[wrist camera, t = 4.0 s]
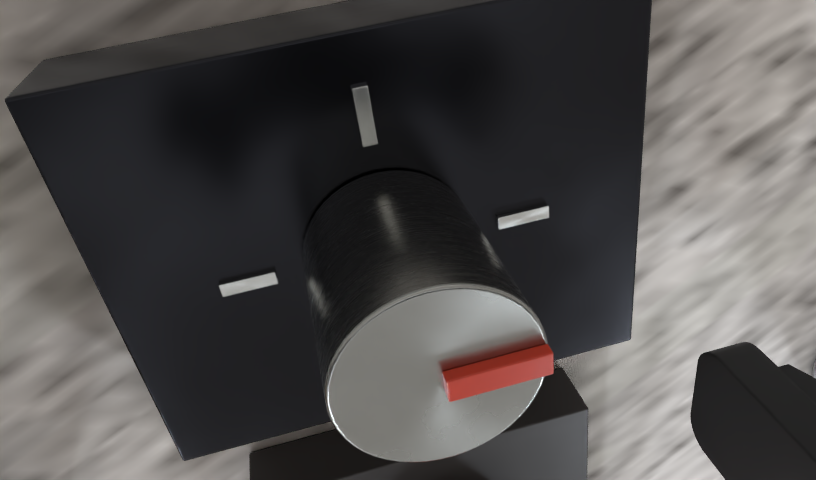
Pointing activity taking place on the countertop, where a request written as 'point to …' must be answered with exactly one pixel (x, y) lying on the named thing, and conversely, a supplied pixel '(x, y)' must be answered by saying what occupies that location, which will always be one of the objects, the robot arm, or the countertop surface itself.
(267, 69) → the hob panel
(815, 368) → the energy drink
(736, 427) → the robot arm
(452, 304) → the hob knob
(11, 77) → the countertop surface
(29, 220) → the countertop surface
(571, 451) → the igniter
